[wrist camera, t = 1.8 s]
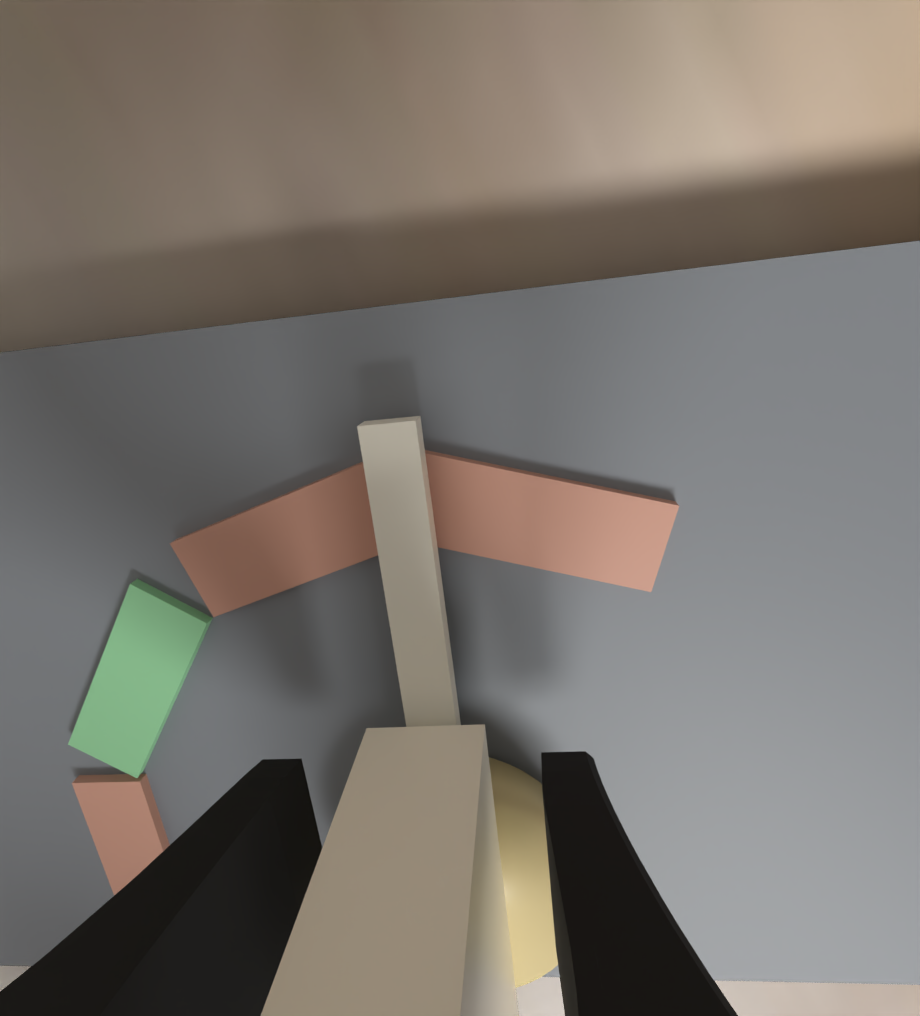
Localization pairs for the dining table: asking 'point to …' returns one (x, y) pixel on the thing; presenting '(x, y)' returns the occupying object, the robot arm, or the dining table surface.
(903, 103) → the dining table surface
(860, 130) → the dining table surface
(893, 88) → the dining table surface
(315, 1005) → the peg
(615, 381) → the tuner board
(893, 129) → the dining table surface
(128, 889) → the robot arm
